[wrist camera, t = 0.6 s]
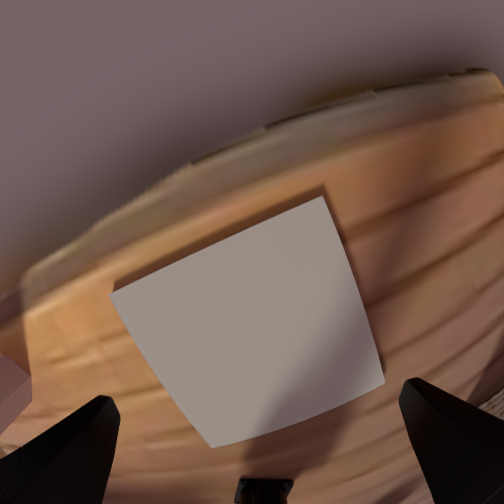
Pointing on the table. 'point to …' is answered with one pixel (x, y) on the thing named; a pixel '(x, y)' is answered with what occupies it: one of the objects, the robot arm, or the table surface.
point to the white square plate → (256, 327)
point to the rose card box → (12, 391)
